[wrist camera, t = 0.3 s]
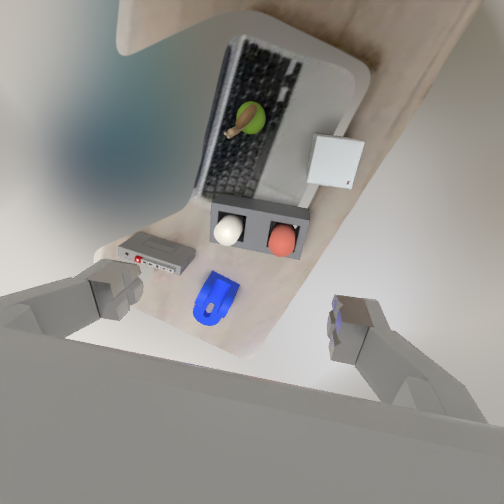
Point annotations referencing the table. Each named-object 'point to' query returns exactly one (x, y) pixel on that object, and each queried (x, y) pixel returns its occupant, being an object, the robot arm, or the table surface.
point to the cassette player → (157, 253)
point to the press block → (260, 221)
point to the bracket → (215, 299)
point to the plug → (229, 229)
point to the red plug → (282, 239)
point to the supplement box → (333, 160)
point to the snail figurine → (248, 119)
